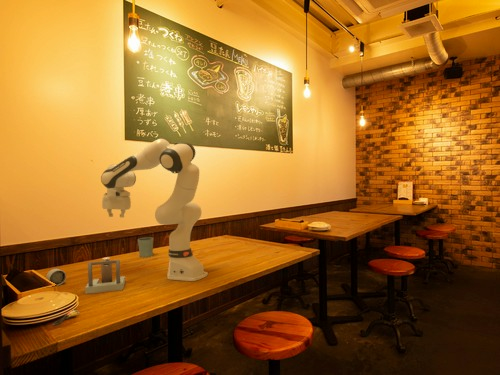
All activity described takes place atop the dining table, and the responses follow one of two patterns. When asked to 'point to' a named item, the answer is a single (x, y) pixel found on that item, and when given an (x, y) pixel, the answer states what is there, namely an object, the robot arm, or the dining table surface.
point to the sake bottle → (106, 271)
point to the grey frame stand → (97, 287)
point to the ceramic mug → (56, 276)
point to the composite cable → (66, 317)
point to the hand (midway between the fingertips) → (116, 217)
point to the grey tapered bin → (145, 247)
